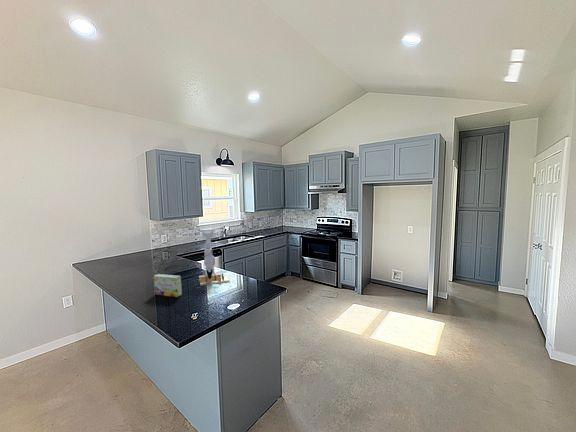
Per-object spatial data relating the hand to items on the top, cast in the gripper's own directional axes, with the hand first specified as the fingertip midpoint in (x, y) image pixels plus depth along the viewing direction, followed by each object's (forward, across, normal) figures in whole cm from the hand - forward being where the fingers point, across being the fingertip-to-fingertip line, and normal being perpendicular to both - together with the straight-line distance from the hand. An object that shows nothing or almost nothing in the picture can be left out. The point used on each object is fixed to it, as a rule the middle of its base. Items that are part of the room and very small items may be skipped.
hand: (209, 277), depth 228 cm
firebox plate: (+3, 0, +4) cm, 5 cm away
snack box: (+3, +20, -31) cm, 37 cm away
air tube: (+2, 0, 0) cm, 2 cm away
